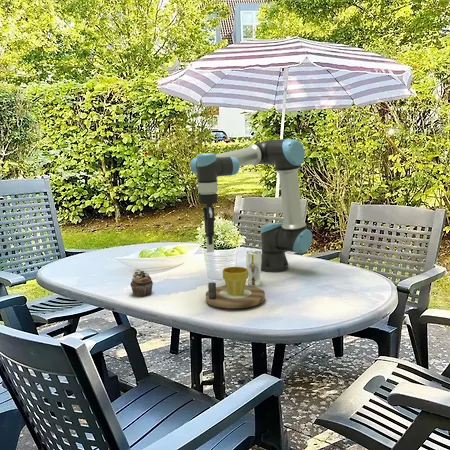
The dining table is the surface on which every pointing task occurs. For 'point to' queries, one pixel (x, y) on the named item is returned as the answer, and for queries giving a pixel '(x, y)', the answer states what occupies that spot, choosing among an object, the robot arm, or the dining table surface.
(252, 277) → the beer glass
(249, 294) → the turntable
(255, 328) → the dining table surface
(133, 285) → the cupcake
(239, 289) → the plant pot
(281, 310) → the dining table surface
